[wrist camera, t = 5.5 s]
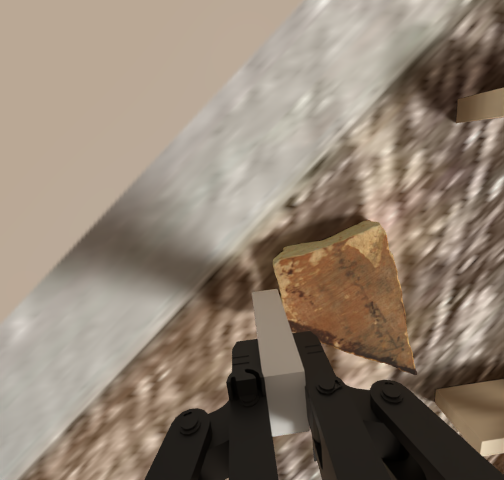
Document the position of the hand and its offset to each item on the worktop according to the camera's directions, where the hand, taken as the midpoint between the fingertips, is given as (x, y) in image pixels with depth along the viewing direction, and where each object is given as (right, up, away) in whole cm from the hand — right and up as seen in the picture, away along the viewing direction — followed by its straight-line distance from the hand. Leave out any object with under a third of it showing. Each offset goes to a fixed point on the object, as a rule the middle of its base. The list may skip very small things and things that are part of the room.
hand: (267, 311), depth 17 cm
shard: (+6, +1, +2) cm, 6 cm away
